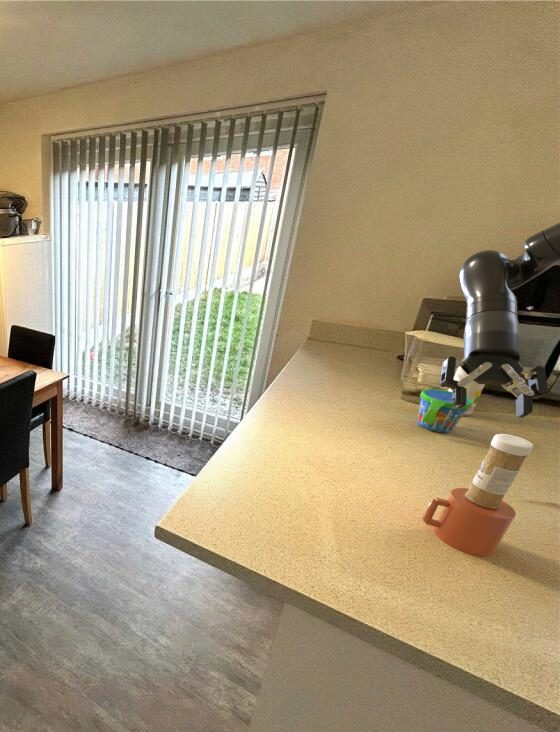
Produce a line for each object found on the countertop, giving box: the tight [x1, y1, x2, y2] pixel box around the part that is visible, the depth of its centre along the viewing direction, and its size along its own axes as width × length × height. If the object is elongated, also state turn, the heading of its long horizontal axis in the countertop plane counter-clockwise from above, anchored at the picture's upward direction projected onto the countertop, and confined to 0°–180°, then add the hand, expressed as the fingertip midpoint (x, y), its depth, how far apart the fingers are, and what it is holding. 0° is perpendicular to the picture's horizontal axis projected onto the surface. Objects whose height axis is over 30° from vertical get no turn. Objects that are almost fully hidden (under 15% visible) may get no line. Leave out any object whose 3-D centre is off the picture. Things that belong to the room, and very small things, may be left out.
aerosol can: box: [447, 357, 486, 417], centre depth 119 cm, size 7×7×20 cm
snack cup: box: [417, 388, 473, 434], centre depth 113 cm, size 16×10×10 cm
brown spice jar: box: [465, 433, 534, 509], centre depth 70 cm, size 5×5×14 cm
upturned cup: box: [422, 487, 517, 557], centre depth 75 cm, size 11×8×9 cm
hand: (491, 411), depth 75 cm, fingers open, 8 cm apart
